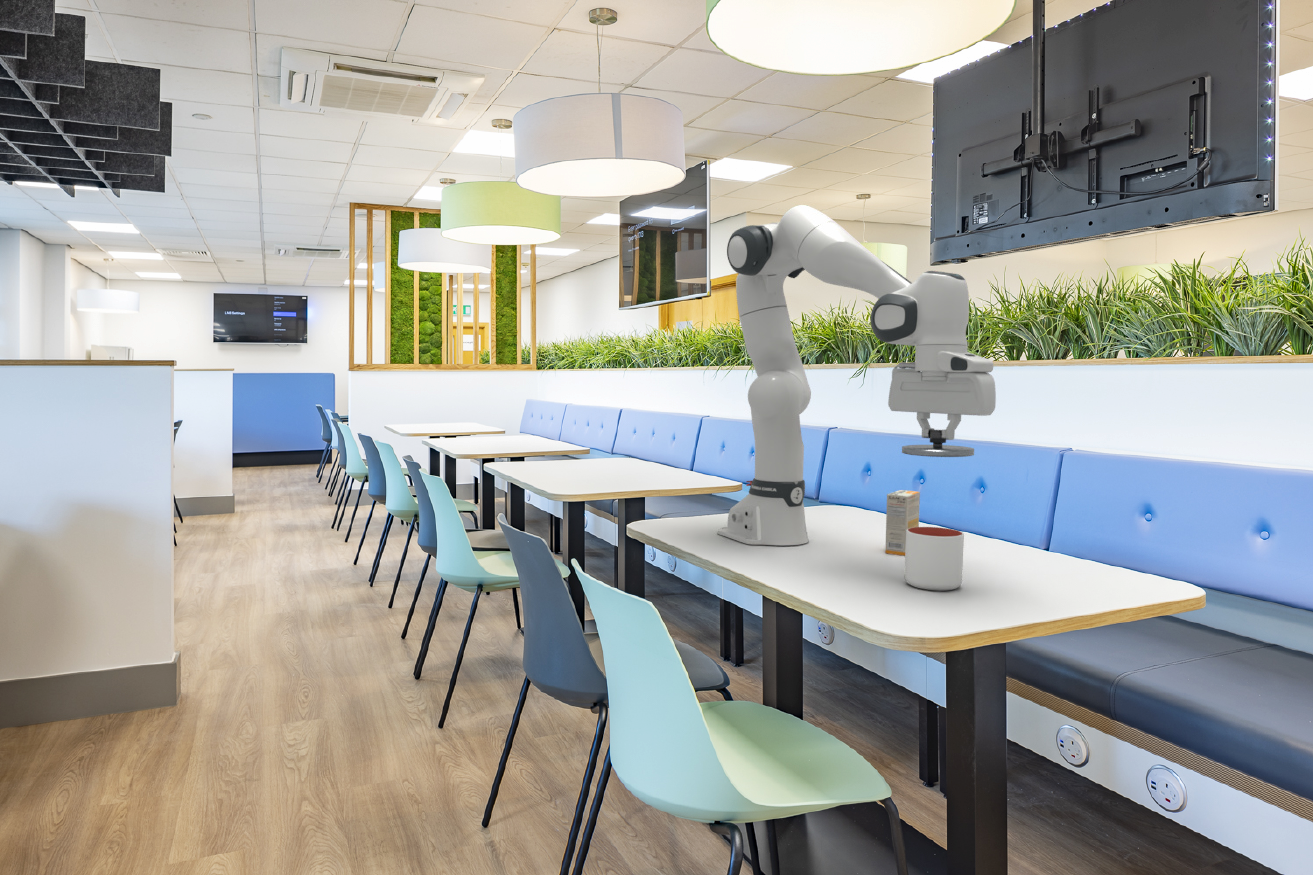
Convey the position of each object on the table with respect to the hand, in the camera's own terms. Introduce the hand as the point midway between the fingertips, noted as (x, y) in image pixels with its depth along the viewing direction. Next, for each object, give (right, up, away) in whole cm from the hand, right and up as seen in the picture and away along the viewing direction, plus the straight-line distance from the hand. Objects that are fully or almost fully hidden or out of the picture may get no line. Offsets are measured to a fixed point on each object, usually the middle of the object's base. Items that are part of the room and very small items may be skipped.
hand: (937, 438), depth 152 cm
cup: (0, -27, +2) cm, 27 cm away
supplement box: (+3, -25, +32) cm, 40 cm away
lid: (0, -3, 0) cm, 3 cm away
